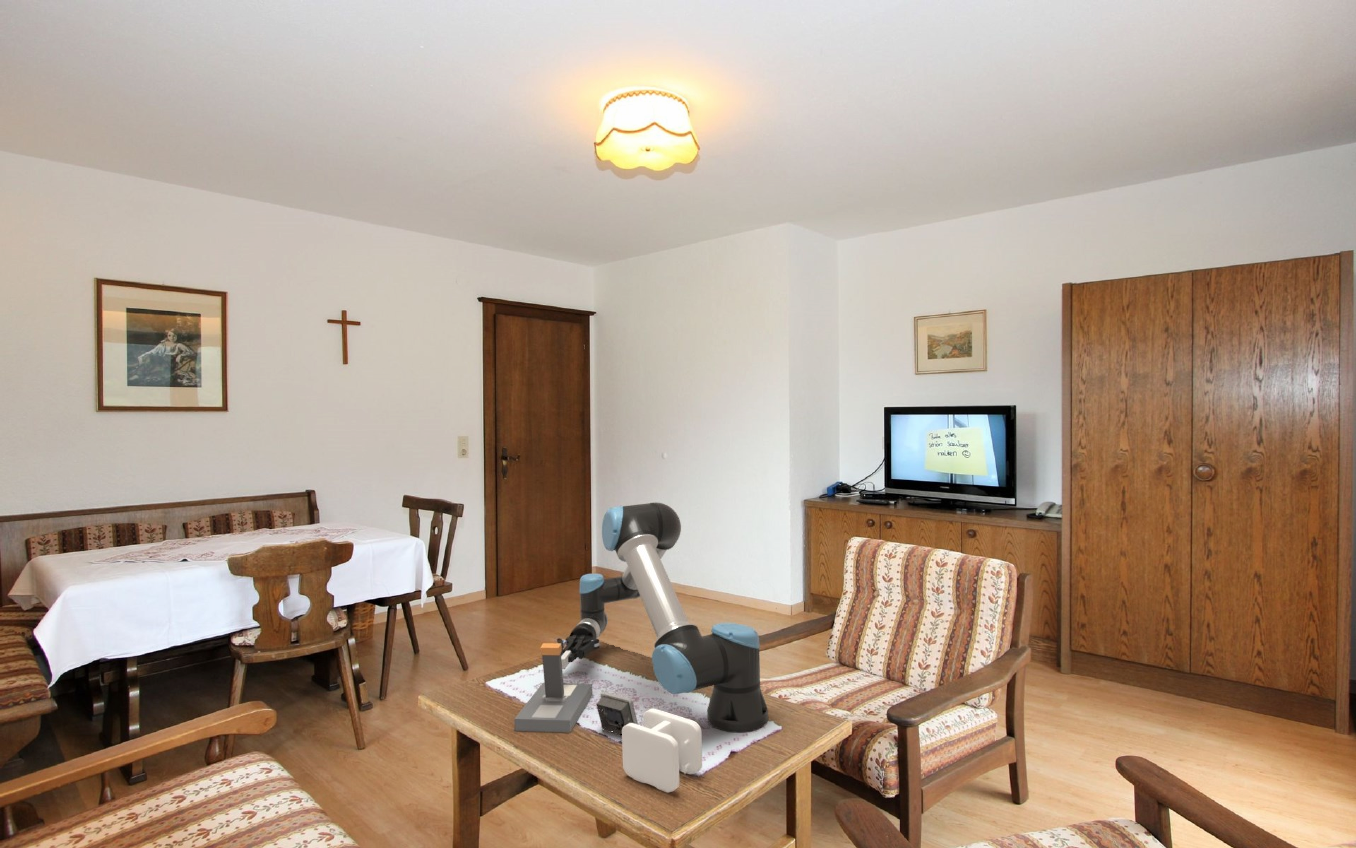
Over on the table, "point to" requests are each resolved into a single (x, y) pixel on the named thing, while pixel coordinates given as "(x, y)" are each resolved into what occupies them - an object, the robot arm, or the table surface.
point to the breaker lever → (552, 670)
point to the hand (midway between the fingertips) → (561, 664)
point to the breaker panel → (554, 709)
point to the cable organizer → (661, 749)
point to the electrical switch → (615, 712)
